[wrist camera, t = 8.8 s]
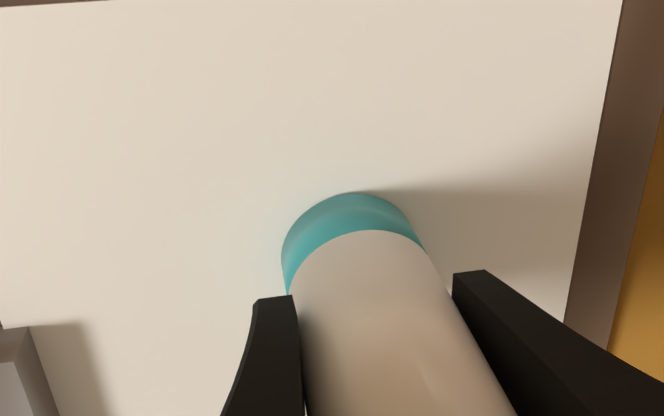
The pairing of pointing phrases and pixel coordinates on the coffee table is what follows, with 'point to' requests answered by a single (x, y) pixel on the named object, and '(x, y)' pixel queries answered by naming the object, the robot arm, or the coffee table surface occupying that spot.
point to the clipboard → (597, 222)
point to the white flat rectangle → (272, 165)
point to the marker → (379, 319)
